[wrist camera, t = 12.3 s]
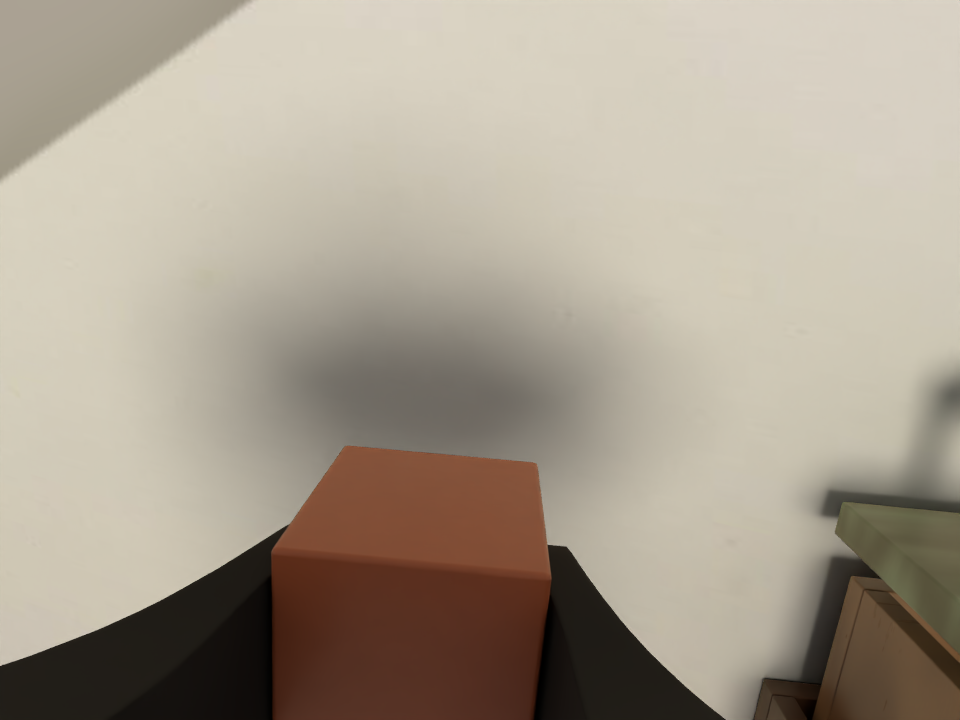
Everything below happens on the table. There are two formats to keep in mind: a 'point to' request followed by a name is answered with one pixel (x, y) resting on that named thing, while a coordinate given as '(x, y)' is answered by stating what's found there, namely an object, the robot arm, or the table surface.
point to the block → (412, 591)
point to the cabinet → (787, 700)
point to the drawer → (897, 619)
